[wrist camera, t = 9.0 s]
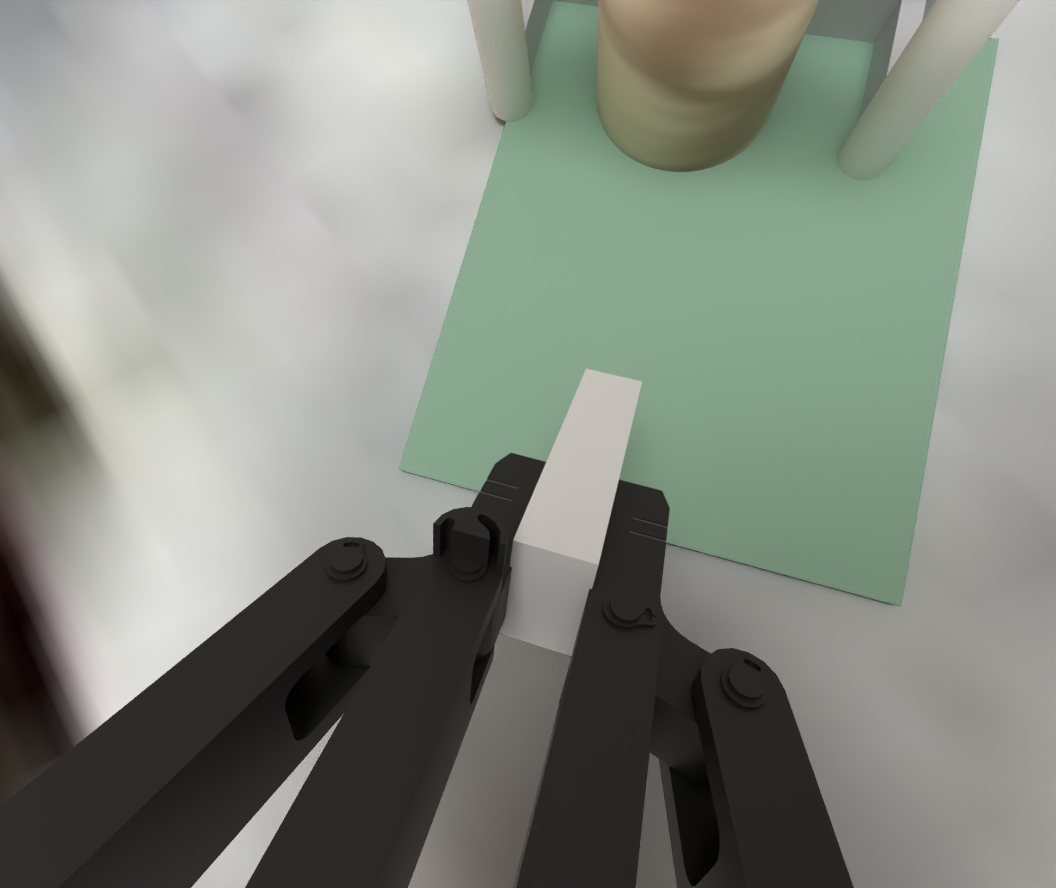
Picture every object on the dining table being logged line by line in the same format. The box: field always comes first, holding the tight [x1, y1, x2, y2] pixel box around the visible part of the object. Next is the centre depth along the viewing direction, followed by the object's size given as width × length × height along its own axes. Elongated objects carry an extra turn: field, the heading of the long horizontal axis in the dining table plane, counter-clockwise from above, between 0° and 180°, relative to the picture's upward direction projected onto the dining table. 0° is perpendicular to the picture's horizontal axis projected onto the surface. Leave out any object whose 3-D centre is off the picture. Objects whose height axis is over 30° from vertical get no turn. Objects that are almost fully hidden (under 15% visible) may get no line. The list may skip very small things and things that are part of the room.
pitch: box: [399, 1, 999, 606], centre depth 21 cm, size 18×22×1 cm
